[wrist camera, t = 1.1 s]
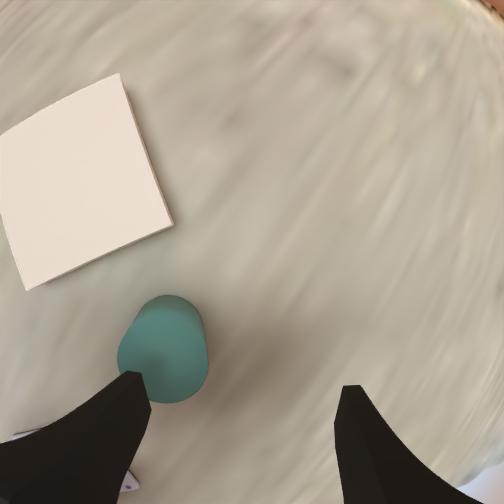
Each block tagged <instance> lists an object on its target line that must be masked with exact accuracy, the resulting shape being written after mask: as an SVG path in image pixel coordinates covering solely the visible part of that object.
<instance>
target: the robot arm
mask: <svg viewBox="0 0 504 504" xmlns="http://www.w3.org/2000/svg"><path fill="white" fill-rule="evenodd" d="M151 410H152V409H151V406H150V403H149V399H148V396H147V392H146V388H145V385H144V381H143V377H142V373H140V372H134V371H128V370H127V371H125V372H124V373H123V374H121V375H120V376H119V377H117V378H116V379H115V380H114V381H112V382H111V383H110V384H109V385H107V386H106V387H105V388H104V389H102V390H101V391H100V392H98V393H97V394H96V395H94V396H93V397H92V398H91V399H89V400H88V401H86V402H85V403H84V404H82V405H81V406H79V407H78V408H76V409H75V410H73V411H72V412H70V413H69V414H67V415H66V416H64V417H63V418H61V419H59V420H57V421H56V422H54V423H52V424H50V425H48V426H46V427H44V428H42V429H38V430H34V431H30V432H25V433H21V434H16V435H12V437H11V438H10V439H11V441H8V442H4V443H1V444H0V504H116V503H117V500H118V496H119V493H122V492H127V491H132V490H137V489H139V483H138V482H137V480H136V479H135V478H134V477H133V476H132V474H131V473H130V472H129V471H128V469H129V467H130V464H131V462H132V460H133V458H134V456H135V454H136V451H137V449H138V447H139V445H140V443H141V440H142V438H143V436H144V434H145V431H146V428H147V425H148V421H149V418H150V414H151ZM334 432H335V449H336V455H337V461H338V467H339V472H340V478H341V484H342V491H343V497H344V504H483V503H481V502H479V501H477V500H475V499H473V498H471V497H469V496H467V495H465V494H464V493H462V492H460V491H459V490H457V489H456V488H454V487H452V486H451V485H450V484H448V483H447V482H445V481H444V480H443V479H441V478H440V477H439V476H437V475H436V474H435V473H433V472H432V471H431V470H430V469H429V468H428V467H426V466H425V465H424V464H423V463H422V462H421V461H420V460H419V459H418V458H417V457H416V456H415V455H414V454H413V453H412V452H411V451H410V450H409V449H408V448H407V447H406V446H405V445H404V444H403V442H402V441H401V440H400V439H399V438H398V437H397V435H396V434H395V433H394V432H393V431H392V429H391V428H390V427H389V425H388V424H387V423H386V421H385V420H384V419H383V418H382V416H381V415H380V413H379V412H378V411H377V409H376V408H375V406H374V405H373V403H372V402H371V400H370V399H369V397H368V396H367V394H366V393H365V391H364V390H363V388H362V387H361V386H360V385H349V386H343V388H342V392H341V397H340V401H339V405H338V409H337V413H336V417H335V421H334ZM127 485H128V486H127Z"/></svg>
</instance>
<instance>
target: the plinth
mask: <svg viewBox="0 0 504 504" xmlns="http://www.w3.org/2000/svg"><path fill="white" fill-rule="evenodd" d="M0 213H1V216H2V220H3V224H4V227H5V231H6V234H7V237H8V241H9V244H10V247H11V250H12V253H13V256H14V259H15V262H16V265H17V268H18V270H19V273H20V276H21V278H22V281H23V284H24V286H25V289H26V291H28V290H31V289H33V288H36V287H39V286H41V285H44V284H46V283H48V282H51V281H53V280H55V279H57V278H59V277H61V276H63V275H65V274H67V273H69V272H71V271H74V270H76V269H78V268H80V267H82V266H84V265H86V264H89V263H91V262H93V261H95V260H97V259H100V258H102V257H104V256H106V255H108V254H111V253H113V252H115V251H117V250H120V249H122V248H124V247H126V246H129V245H131V244H133V243H135V242H138V241H140V240H142V239H145V238H147V237H149V236H152V235H154V234H156V233H159V232H161V231H163V230H166V229H168V228H171V227H173V226H175V225H174V222H173V220H172V217H171V215H170V212H169V209H168V207H167V204H166V202H165V199H164V196H163V194H162V191H161V188H160V186H159V183H158V180H157V178H156V175H155V172H154V170H153V167H152V164H151V161H150V159H149V156H148V153H147V150H146V147H145V144H144V142H143V139H142V136H141V133H140V130H139V127H138V124H137V121H136V118H135V115H134V112H133V109H132V106H131V103H130V100H129V97H128V94H127V91H126V89H125V86H124V84H123V82H122V79H121V77H120V75H119V73H117V74H114V75H112V76H110V77H107V78H105V79H103V80H100V81H98V82H96V83H94V84H92V85H89V86H87V87H85V88H83V89H81V90H79V91H77V92H75V93H73V94H71V95H69V96H67V97H65V98H63V99H61V100H59V101H57V102H55V103H54V104H52V105H50V106H48V107H46V108H44V109H43V110H41V111H39V112H37V113H36V114H34V115H32V116H31V117H29V118H27V119H26V120H24V121H22V122H21V123H19V124H17V125H16V126H14V127H13V128H11V129H10V130H8V131H7V132H5V133H4V134H2V135H1V136H0Z"/></svg>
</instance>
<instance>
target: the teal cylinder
mask: <svg viewBox="0 0 504 504" xmlns="http://www.w3.org/2000/svg"><path fill="white" fill-rule="evenodd" d="M117 361H118V367H119V371H120V374H123V373H124V372H125V371H127V370H128V371H134V372H140V373H142V377H143V381H144V385H145V388H146V392H147V396H148V399H149V400H150V401H154V402H158V403H174V402H179V401H182V400H185V399H187V398H189V397H190V396H192V395H193V394H195V393H196V392H197V391H198V390H199V389H200V387H201V386H202V385H203V383H204V381H205V379H206V376H207V372H208V357H207V350H206V343H205V336H204V329H203V322H202V319H201V316H200V314H199V312H198V311H197V309H196V308H195V307H194V306H193V305H192V304H191V303H190V302H188V301H187V300H185V299H183V298H180V297H177V296H172V295H164V296H159V297H156V298H154V299H152V300H150V301H149V302H147V303H146V304H145V305H144V306H143V307H142V309H141V310H140V312H139V313H138V315H137V317H136V318H135V320H134V321H133V323H132V325H131V326H130V328H129V329H128V331H127V333H126V334H125V336H124V338H123V339H122V341H121V343H120V346H119V349H118V355H117Z"/></svg>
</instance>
